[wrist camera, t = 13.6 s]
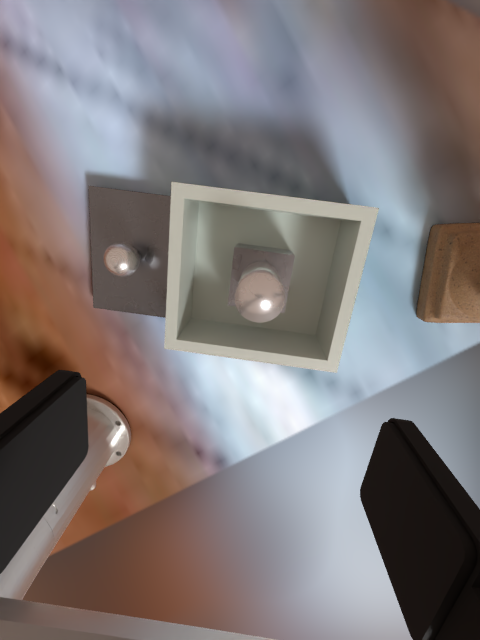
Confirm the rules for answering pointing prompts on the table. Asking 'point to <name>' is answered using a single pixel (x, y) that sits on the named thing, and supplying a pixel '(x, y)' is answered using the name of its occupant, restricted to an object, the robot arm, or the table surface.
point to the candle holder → (451, 275)
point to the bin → (305, 285)
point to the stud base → (137, 233)
